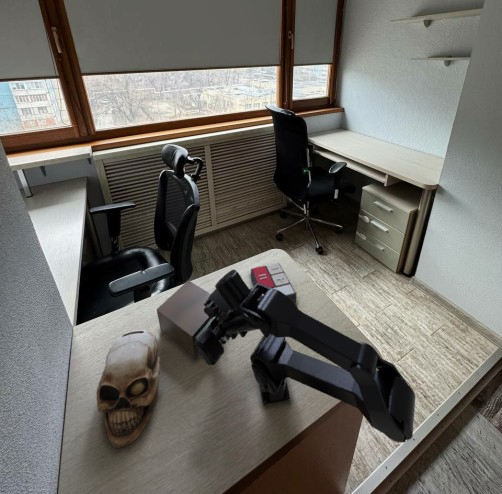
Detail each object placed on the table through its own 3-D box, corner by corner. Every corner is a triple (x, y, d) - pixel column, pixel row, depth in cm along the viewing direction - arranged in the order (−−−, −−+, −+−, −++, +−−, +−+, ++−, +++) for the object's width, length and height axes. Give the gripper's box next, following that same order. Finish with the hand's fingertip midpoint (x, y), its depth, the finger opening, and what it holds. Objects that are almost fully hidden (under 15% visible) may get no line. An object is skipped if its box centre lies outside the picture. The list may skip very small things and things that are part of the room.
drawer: (228, 326, 78) (228, 309, 75) (203, 360, 69) (201, 342, 66) (194, 303, 85) (192, 286, 82) (167, 332, 76) (164, 314, 73)
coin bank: (116, 458, 53) (102, 413, 49) (89, 393, 65) (76, 352, 61) (184, 392, 64) (177, 351, 60) (150, 346, 76) (142, 309, 72)
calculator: (279, 260, 98) (296, 292, 84) (278, 270, 99) (296, 302, 86) (250, 267, 95) (263, 301, 82) (250, 276, 97) (263, 311, 83)
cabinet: (223, 323, 80) (222, 301, 76) (194, 359, 70) (192, 336, 67) (190, 301, 87) (188, 280, 83) (160, 331, 77) (156, 309, 74)
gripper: (246, 263, 70) (217, 278, 80) (196, 319, 56) (168, 329, 65) (273, 299, 69) (240, 310, 79) (228, 365, 54) (194, 369, 64)
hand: (212, 326), depth 72 cm, fingers closed, pressing on drawer
